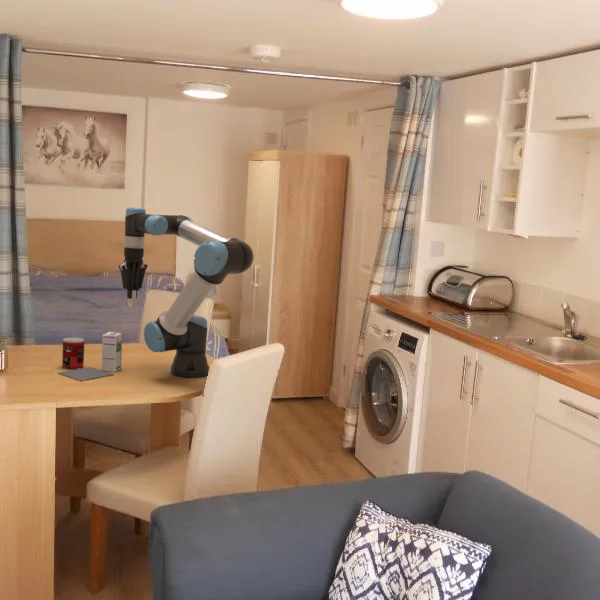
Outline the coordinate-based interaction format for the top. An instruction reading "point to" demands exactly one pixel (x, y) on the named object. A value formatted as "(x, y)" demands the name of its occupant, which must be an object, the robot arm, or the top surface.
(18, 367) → the top surface
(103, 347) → the syrup box
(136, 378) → the top surface
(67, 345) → the canned food
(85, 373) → the mat
